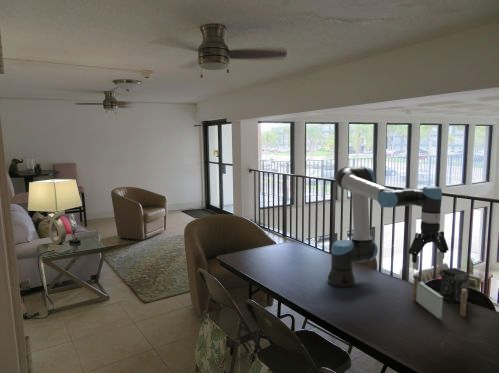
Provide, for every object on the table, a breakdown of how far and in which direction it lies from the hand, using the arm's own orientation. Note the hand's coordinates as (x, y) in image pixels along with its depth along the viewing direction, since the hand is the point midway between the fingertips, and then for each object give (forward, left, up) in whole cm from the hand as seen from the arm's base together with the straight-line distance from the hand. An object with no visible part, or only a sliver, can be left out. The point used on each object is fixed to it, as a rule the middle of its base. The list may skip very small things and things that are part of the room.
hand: (427, 267), depth 157 cm
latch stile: (+13, +10, -22) cm, 27 cm away
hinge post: (-8, +10, -22) cm, 25 cm away
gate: (0, +4, -21) cm, 21 cm away
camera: (+6, +24, -22) cm, 33 cm away
